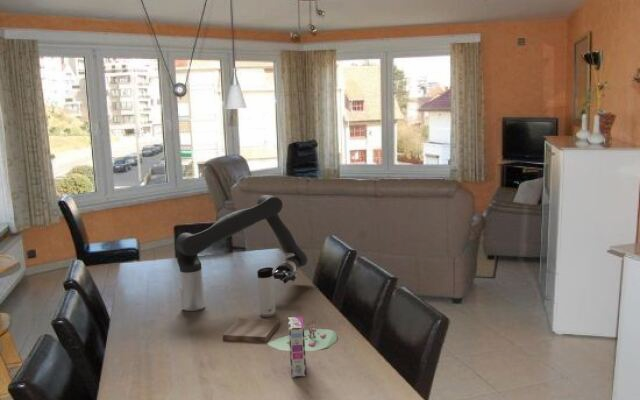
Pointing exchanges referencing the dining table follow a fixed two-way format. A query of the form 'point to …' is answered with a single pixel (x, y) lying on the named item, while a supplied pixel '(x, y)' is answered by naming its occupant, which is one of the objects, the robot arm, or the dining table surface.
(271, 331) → the walnut board
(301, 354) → the candy bar box
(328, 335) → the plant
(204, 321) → the dining table surface
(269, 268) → the travel mug
